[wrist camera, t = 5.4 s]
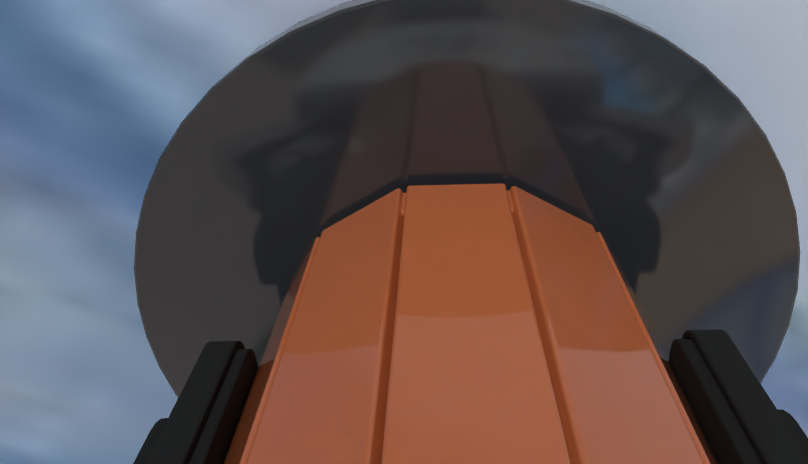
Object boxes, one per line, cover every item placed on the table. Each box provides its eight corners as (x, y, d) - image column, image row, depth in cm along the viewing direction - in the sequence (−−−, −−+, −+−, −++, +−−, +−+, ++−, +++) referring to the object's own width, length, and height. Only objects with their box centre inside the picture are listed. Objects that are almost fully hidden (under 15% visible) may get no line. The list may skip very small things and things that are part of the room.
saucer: (96, -53, 10) (70, -47, 9) (907, 15, 10) (944, 26, 9) (185, 481, 16) (174, 508, 15) (669, 522, 16) (680, 551, 15)
